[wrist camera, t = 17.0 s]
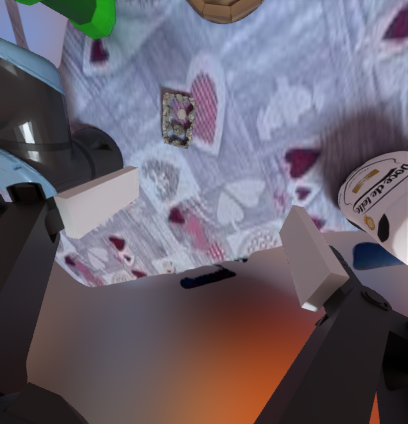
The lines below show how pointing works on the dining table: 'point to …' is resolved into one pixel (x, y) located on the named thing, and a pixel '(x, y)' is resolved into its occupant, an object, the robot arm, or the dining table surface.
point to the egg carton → (182, 115)
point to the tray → (224, 9)
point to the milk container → (380, 201)
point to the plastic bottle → (84, 14)
